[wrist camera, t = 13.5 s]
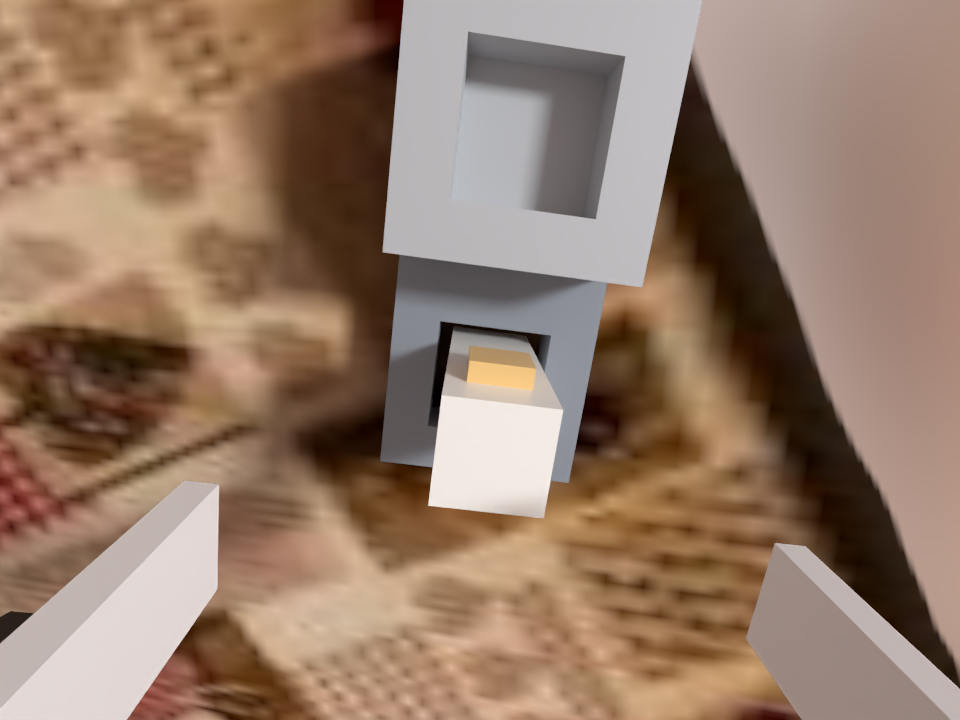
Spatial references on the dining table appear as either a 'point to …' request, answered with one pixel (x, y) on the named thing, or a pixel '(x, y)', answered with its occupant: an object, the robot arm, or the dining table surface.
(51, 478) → the dining table surface
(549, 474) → the plug
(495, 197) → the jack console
